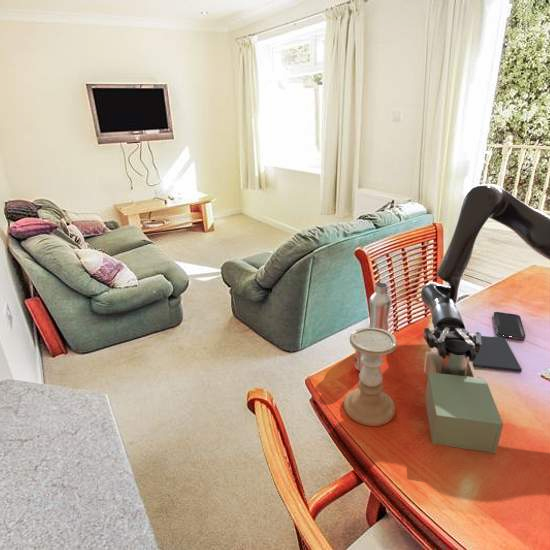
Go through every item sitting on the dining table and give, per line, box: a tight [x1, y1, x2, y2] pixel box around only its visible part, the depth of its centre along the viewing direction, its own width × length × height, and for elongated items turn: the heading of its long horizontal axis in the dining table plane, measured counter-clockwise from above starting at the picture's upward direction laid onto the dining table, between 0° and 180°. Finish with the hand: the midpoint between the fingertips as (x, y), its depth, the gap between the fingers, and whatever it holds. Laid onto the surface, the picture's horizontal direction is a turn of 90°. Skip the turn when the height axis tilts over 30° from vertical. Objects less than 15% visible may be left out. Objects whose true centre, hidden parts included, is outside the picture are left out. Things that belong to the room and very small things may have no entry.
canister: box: [441, 339, 470, 376], centre depth 93 cm, size 6×6×12 cm
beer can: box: [354, 349, 364, 372], centre depth 105 cm, size 5×5×12 cm
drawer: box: [423, 351, 478, 378], centre depth 95 cm, size 15×11×6 cm
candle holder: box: [343, 327, 398, 427], centre depth 89 cm, size 12×12×20 cm
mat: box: [435, 335, 523, 373], centre depth 112 cm, size 20×16×1 cm
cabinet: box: [424, 372, 504, 454], centre depth 85 cm, size 15×13×8 cm
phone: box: [493, 311, 526, 340], centre depth 123 cm, size 8×1×15 cm
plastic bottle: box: [368, 282, 392, 332], centre depth 115 cm, size 6×7×20 cm
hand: (458, 356), depth 89 cm, fingers closed on canister, 5 cm apart
